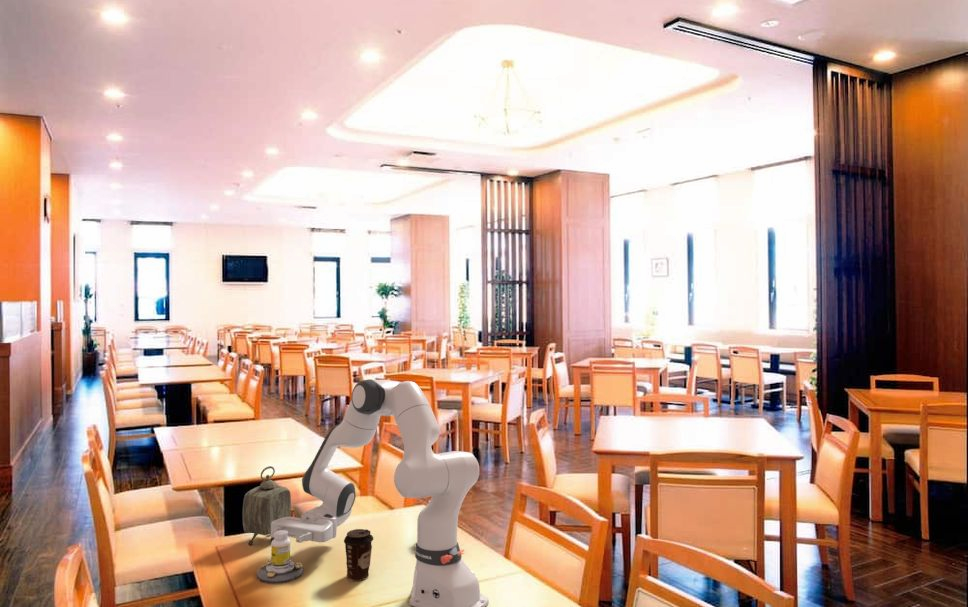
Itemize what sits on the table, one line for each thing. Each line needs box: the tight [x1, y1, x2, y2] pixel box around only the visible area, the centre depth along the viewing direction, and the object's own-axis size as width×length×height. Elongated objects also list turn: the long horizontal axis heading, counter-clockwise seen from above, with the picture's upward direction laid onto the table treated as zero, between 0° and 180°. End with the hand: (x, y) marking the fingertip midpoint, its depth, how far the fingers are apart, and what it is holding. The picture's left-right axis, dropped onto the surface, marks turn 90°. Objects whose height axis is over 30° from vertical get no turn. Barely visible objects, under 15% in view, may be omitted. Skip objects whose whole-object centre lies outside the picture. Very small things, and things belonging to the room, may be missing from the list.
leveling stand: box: [256, 559, 304, 584], centre depth 196 cm, size 13×13×3 cm
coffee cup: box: [343, 528, 374, 582], centre depth 195 cm, size 9×8×13 cm
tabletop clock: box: [242, 466, 292, 546], centre depth 222 cm, size 14×9×25 cm, turn 160°
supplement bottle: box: [270, 530, 291, 568], centre depth 196 cm, size 5×5×10 cm
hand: (285, 537), depth 198 cm, fingers open, 8 cm apart
